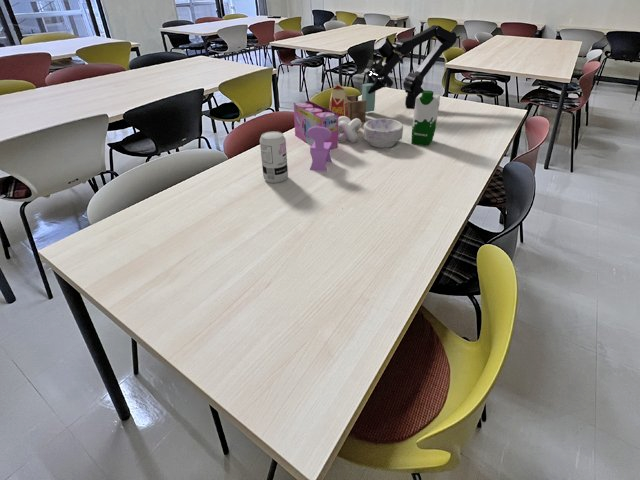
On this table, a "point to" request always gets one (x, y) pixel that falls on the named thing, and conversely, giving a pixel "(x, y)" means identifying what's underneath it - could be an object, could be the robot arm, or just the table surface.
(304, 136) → the gum box
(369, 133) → the marble bowl
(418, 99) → the soya milk
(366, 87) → the teal rectangular block
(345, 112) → the milk carton
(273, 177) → the supplement can
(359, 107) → the cabinet carcass
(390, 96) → the table surface
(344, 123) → the white knot sculpture
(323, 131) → the toy chair
